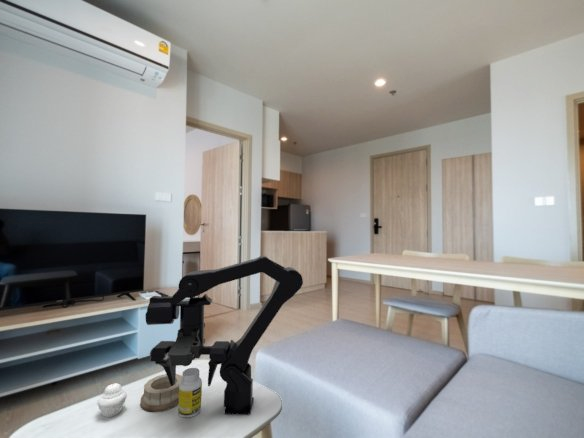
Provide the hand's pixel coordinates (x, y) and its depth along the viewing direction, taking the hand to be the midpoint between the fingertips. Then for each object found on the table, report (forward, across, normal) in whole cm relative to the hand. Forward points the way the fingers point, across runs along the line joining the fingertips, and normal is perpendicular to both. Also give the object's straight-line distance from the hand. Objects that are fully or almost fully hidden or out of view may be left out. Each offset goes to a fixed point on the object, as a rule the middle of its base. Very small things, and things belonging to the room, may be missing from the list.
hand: (191, 385), depth 69 cm
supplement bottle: (+6, 0, 0) cm, 6 cm away
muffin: (+6, -19, -1) cm, 20 cm away
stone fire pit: (+6, -9, +5) cm, 12 cm away
